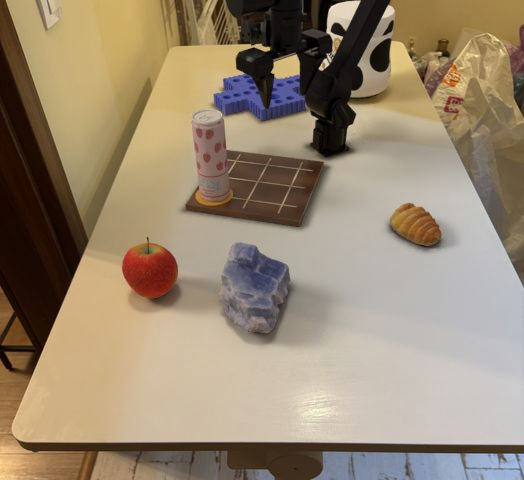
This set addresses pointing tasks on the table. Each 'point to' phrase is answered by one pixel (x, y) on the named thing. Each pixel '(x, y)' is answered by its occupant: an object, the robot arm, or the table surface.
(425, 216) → the pastry
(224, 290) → the mineral
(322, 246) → the table surface
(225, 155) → the beverage can
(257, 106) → the building block
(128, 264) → the apple
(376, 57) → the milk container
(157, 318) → the table surface
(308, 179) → the board
